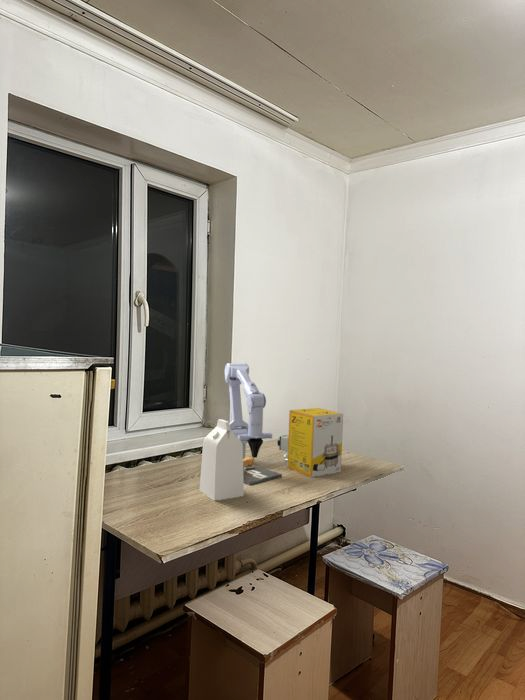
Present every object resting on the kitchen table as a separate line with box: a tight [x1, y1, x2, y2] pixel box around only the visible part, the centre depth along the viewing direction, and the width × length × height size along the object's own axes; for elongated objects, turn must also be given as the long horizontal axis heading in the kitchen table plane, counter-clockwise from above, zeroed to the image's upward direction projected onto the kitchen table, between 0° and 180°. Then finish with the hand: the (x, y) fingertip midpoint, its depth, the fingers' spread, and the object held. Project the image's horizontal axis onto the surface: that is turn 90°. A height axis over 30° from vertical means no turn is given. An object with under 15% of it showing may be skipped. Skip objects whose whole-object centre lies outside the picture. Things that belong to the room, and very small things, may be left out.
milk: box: [198, 418, 245, 502], centre depth 168 cm, size 12×12×26 cm
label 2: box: [253, 474, 268, 479], centre depth 186 cm, size 5×4×1 cm
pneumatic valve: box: [276, 434, 288, 462], centre depth 216 cm, size 6×12×12 cm, turn 51°
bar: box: [243, 456, 255, 467], centre depth 194 cm, size 16×4×3 cm, turn 145°
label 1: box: [246, 470, 261, 475], centre depth 191 cm, size 5×4×1 cm
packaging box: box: [286, 407, 344, 478], centre depth 202 cm, size 16×16×25 cm
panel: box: [243, 463, 283, 486], centre depth 192 cm, size 20×18×2 cm
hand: (254, 457), depth 191 cm, fingers closed
